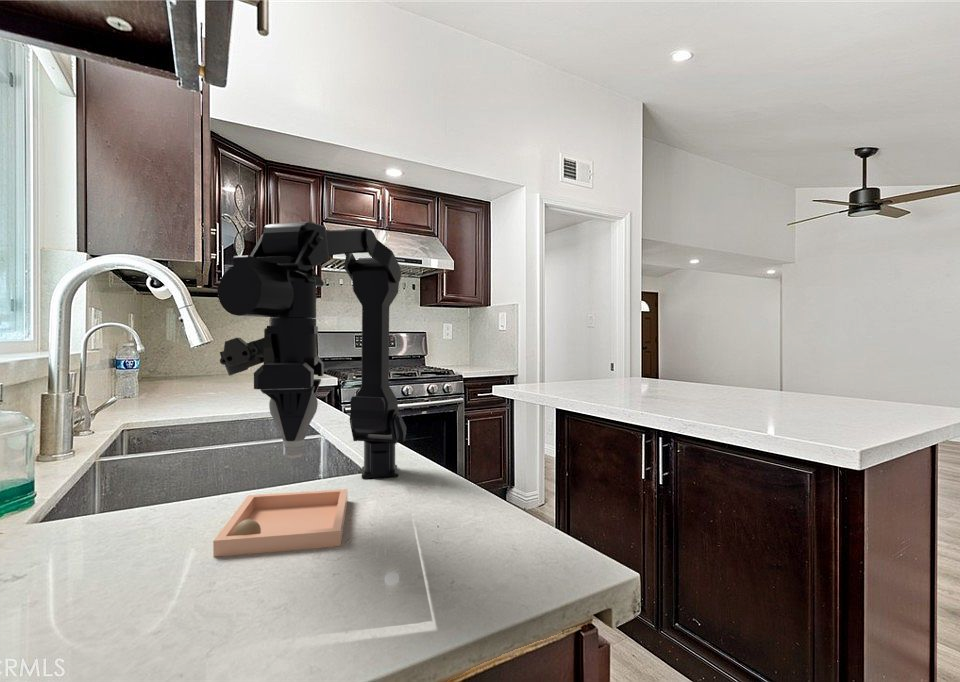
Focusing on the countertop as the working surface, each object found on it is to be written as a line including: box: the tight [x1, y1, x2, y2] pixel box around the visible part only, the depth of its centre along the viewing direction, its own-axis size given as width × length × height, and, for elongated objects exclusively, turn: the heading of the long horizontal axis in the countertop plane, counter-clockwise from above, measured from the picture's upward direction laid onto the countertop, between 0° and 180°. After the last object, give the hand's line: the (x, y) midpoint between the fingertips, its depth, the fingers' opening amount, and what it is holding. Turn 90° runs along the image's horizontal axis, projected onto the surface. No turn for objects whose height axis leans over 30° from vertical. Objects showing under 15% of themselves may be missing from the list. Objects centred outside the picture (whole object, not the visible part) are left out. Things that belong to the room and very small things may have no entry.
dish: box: [212, 488, 349, 558], centre depth 65 cm, size 16×14×2 cm
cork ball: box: [233, 519, 261, 536], centre depth 59 cm, size 3×3×3 cm
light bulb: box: [268, 392, 319, 459], centre depth 65 cm, size 6×6×10 cm
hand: (293, 436), depth 65 cm, fingers closed on light bulb, 5 cm apart
